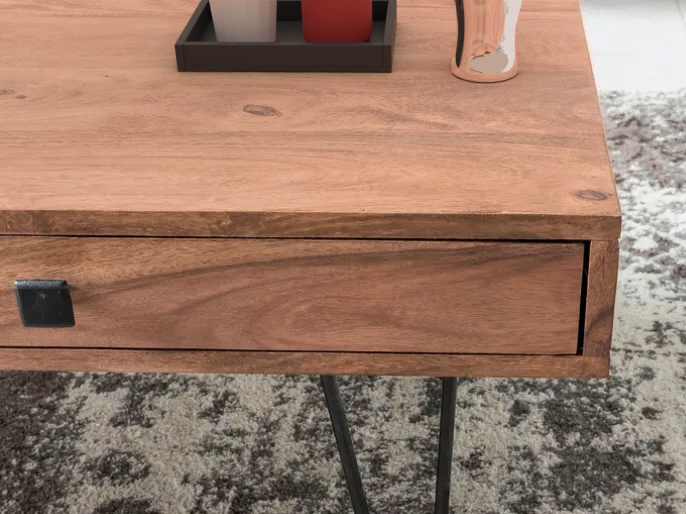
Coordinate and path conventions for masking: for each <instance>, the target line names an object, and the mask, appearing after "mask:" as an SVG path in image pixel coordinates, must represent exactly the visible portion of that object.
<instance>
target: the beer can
mask: <svg viewBox="0 0 686 514" xmlns="http://www.w3.org/2000/svg"><path fill="white" fill-rule="evenodd" d="M301 3H302V23H303V36H304V38H305V41H306V42H368V41H369V40H370V38H371V35H372V0H301Z"/></svg>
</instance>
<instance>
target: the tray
mask: <svg viewBox="0 0 686 514" xmlns="http://www.w3.org/2000/svg"><path fill="white" fill-rule="evenodd" d="M397 24H398V0H372V35H371V38H370V40H369V41H368V42H306V41H305V38H304V36H303V23H302V3H301V0H277V9H276V39H275V42H217V39H216V33H215V28H214V23H213V18H212V13H211V7H210V2H209V0H199V2H198V4H197V6H196V8H195V9H194V11H193V13H192V14H191V16H190V18H189V20H188V21H187V23H186V25H185V26H184V28H183V30H182V31H181V33H180V34H179V36H178V38H177V40H176V42H175V43H174V52H175V61H176V69H177V72H219V73H220V72H226V73H227V72H231V73H232V72H236V73H237V72H239V73H240V72H241V73H243V72H246V73H248V72H253V73H255V72H258V73H260V72H261V73H262V72H263V73H265V72H266V73H267V72H268V73H274V72H275V73H280V72H281V73H304V72H305V73H392V71H393V62H394V53H395V43H396V33H397V26H398V25H397Z"/></svg>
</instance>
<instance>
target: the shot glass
mask: <svg viewBox="0 0 686 514" xmlns="http://www.w3.org/2000/svg"><path fill="white" fill-rule="evenodd" d="M209 2H210V7H211V13H212V18H213V23H214V28H215V33H216V39H217V42H275V39H276V9H277V0H209Z"/></svg>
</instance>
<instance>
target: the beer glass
mask: <svg viewBox="0 0 686 514" xmlns="http://www.w3.org/2000/svg"><path fill="white" fill-rule="evenodd" d="M453 2H454V10H455V19H456V36H455V44H454V49H453V53H452V58H451V61H450V63H451V64H450V71H451V73H452V74H453V75H454V76H455V77H457V78H460V79H461V80H465V81H469V82H475V83H498V82H503V81H506V80H509V79H512V78H514V77H515V76H517V74H518V73H519V70H520V69H519V60H518V58H519V57H518V51H517V31H518V25H519V19H520V15H521V10H522V6H523V2H524V0H453Z"/></svg>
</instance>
